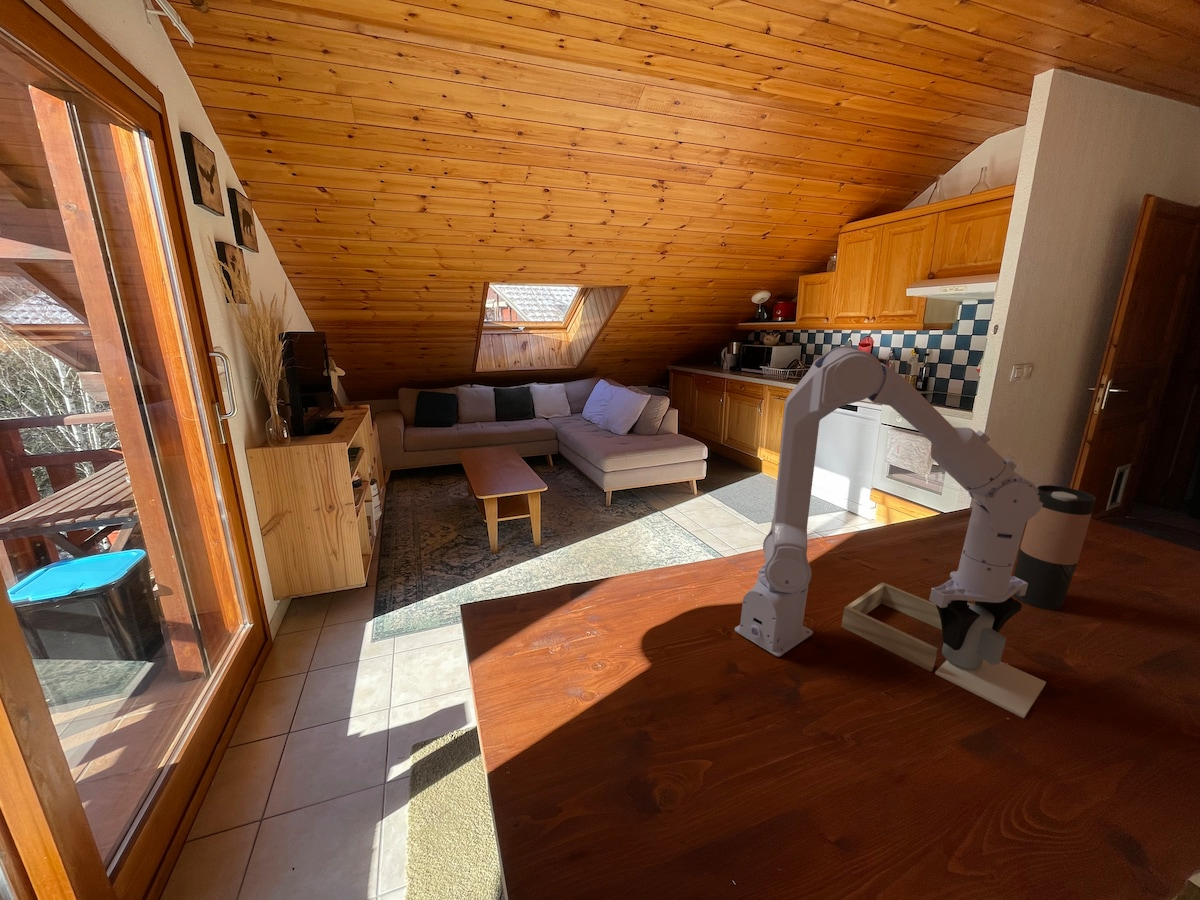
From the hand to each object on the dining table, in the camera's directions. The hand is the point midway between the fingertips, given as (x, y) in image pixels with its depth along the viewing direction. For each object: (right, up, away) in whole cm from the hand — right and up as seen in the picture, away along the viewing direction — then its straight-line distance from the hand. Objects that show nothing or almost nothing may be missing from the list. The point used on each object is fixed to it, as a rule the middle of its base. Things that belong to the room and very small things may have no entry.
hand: (966, 643), depth 73 cm
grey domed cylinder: (0, -3, 0) cm, 3 cm away
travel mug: (+25, +1, +18) cm, 31 cm away
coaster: (+2, -4, -2) cm, 5 cm away
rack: (-4, -1, +8) cm, 9 cm away
